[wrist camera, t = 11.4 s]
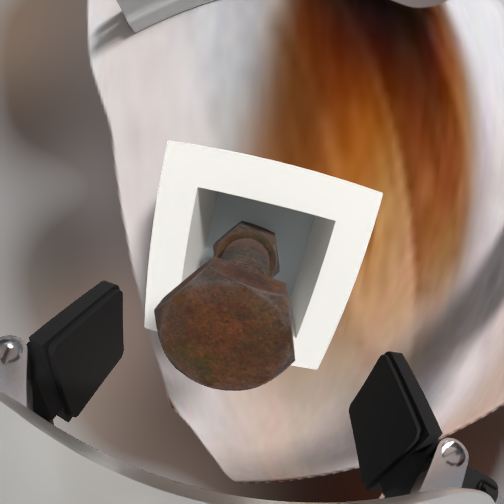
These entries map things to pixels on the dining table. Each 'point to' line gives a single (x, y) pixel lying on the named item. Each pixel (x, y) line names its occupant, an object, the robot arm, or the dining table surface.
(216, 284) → the bolt
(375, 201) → the socket post
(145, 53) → the dining table surface
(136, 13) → the grey arched bracket
